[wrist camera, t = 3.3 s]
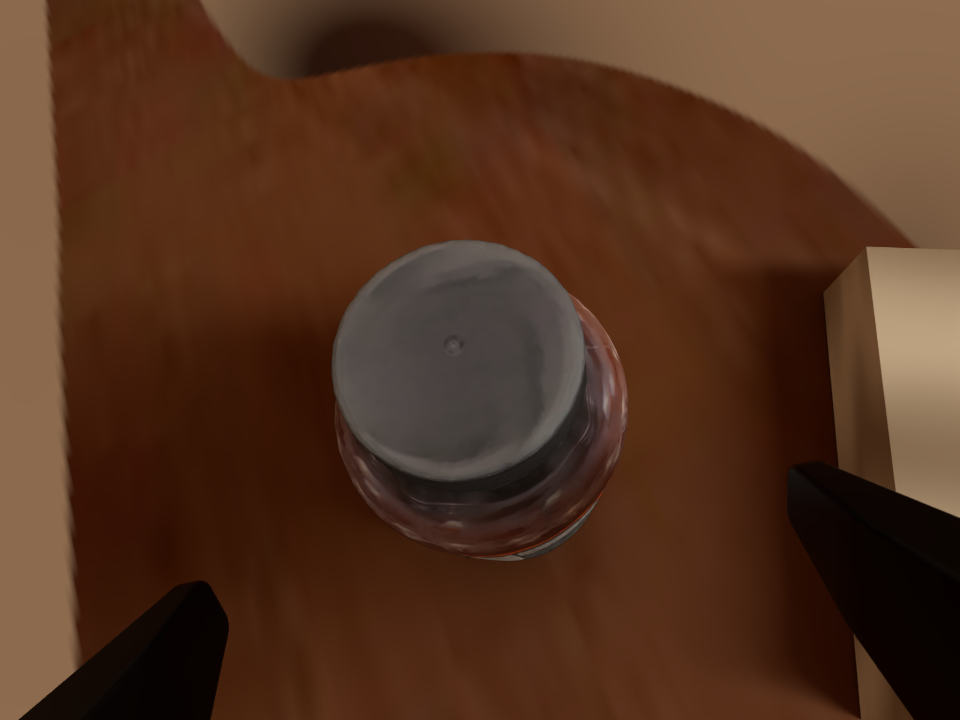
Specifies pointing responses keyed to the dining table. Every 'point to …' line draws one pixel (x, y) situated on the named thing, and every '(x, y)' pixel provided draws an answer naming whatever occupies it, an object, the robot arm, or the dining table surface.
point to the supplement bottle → (477, 401)
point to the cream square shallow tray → (897, 393)
